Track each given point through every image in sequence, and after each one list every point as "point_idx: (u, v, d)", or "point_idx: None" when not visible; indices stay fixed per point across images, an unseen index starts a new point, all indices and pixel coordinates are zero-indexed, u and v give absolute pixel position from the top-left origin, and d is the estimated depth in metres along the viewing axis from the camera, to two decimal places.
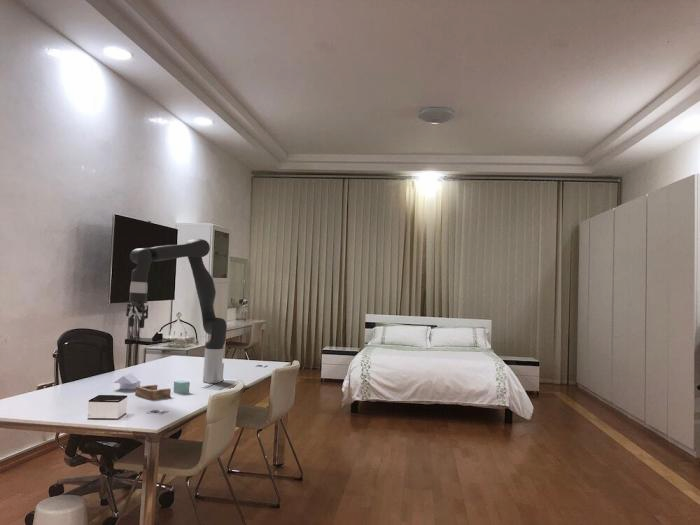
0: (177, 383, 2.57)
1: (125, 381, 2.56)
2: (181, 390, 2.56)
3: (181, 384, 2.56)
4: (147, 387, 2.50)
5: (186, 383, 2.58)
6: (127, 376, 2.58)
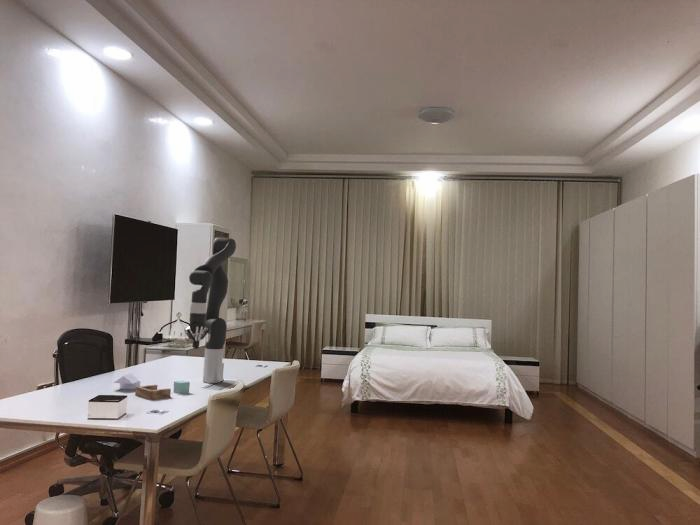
0: (177, 383, 2.57)
1: (125, 381, 2.56)
2: (181, 390, 2.56)
3: (181, 384, 2.56)
4: (147, 387, 2.50)
5: (186, 383, 2.58)
6: (127, 376, 2.58)
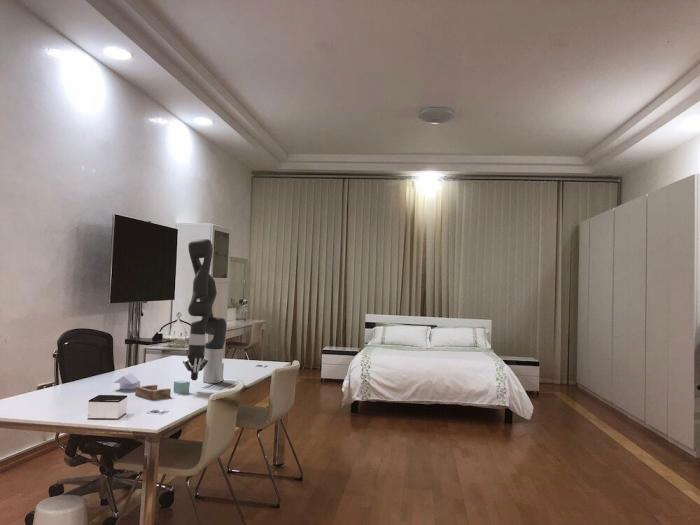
0: (177, 383, 2.57)
1: (125, 381, 2.56)
2: (181, 390, 2.56)
3: (181, 384, 2.56)
4: (147, 387, 2.50)
5: (186, 383, 2.58)
6: (127, 376, 2.58)
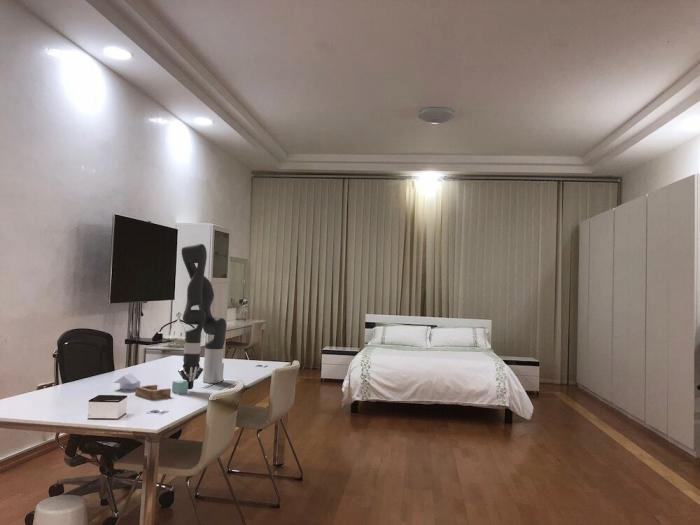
0: (175, 383, 2.57)
1: (125, 381, 2.56)
2: (180, 390, 2.56)
3: (180, 384, 2.56)
4: (147, 387, 2.50)
5: (185, 383, 2.58)
6: (127, 376, 2.58)
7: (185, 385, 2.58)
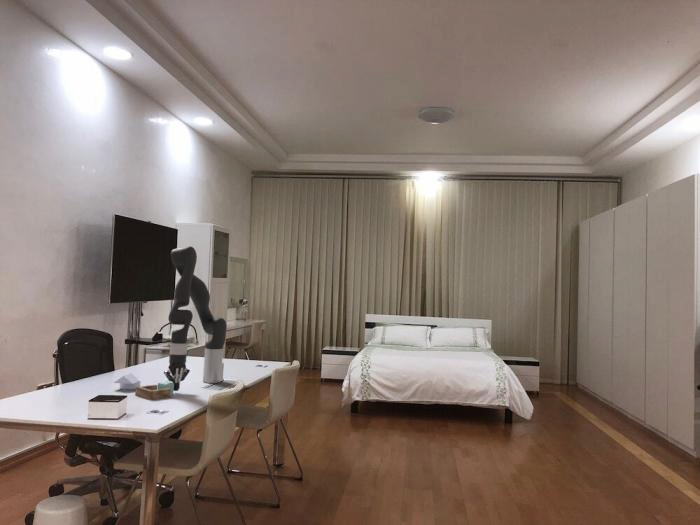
0: (160, 384, 2.51)
1: (125, 381, 2.56)
2: None
3: (165, 386, 2.50)
4: (147, 387, 2.50)
5: (170, 384, 2.52)
6: (127, 376, 2.58)
7: (171, 387, 2.52)
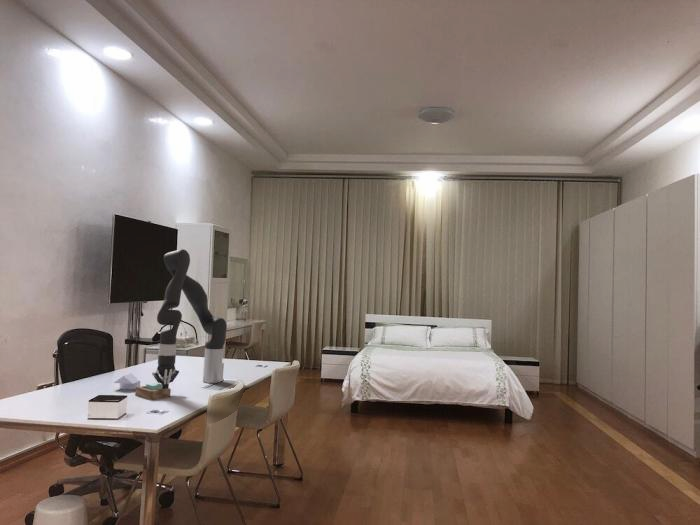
0: (149, 386, 2.47)
1: (125, 381, 2.56)
2: None
3: (153, 387, 2.45)
4: None
5: (159, 386, 2.48)
6: (127, 376, 2.58)
7: (159, 388, 2.48)
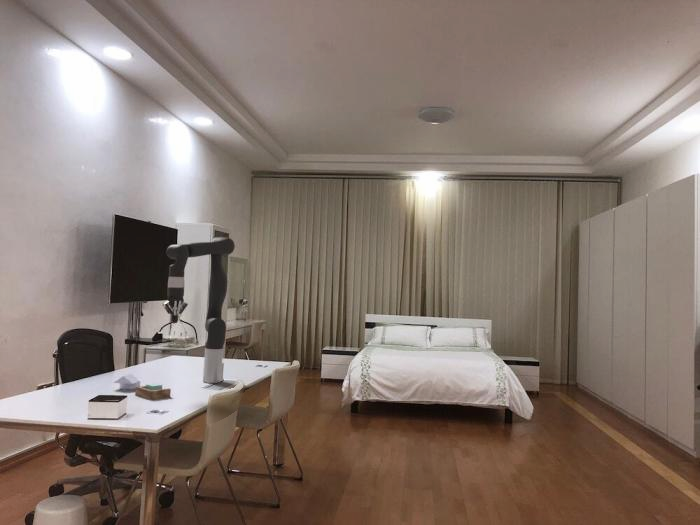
0: (148, 386, 2.47)
1: (125, 381, 2.56)
2: None
3: (153, 387, 2.45)
4: None
5: (158, 386, 2.47)
6: (127, 376, 2.58)
7: (159, 388, 2.48)
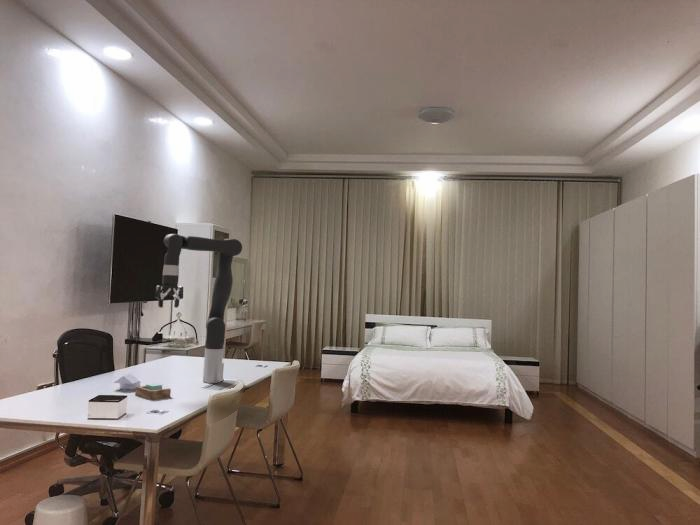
0: (148, 386, 2.47)
1: (125, 381, 2.56)
2: None
3: (153, 387, 2.45)
4: None
5: (158, 386, 2.47)
6: (127, 376, 2.58)
7: (159, 388, 2.48)
